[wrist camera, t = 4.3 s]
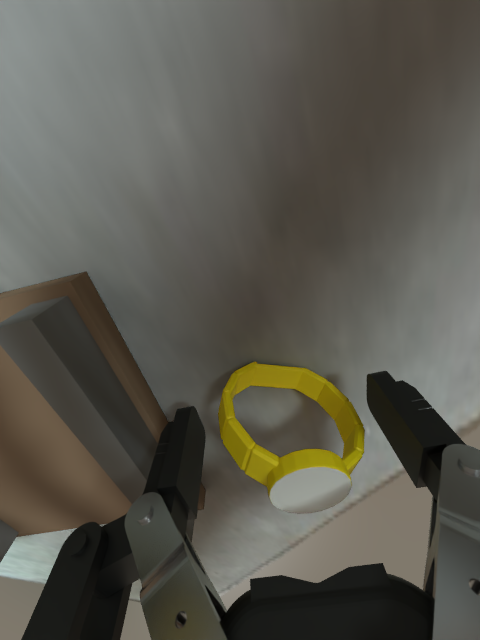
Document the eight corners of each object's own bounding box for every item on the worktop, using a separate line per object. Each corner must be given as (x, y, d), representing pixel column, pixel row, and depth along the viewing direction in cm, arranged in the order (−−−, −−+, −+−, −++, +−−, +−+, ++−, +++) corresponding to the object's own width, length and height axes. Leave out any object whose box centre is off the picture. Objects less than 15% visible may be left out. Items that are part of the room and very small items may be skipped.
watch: (218, 385, 14) (208, 508, 9) (227, 343, 13) (221, 458, 7) (322, 399, 14) (372, 522, 9) (340, 361, 13) (410, 478, 8)
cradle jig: (86, 271, 11) (33, 303, 8) (205, 490, 19) (200, 545, 16) (-218, 348, 12) (-353, 397, 9) (11, 520, 20) (-25, 575, 17)
